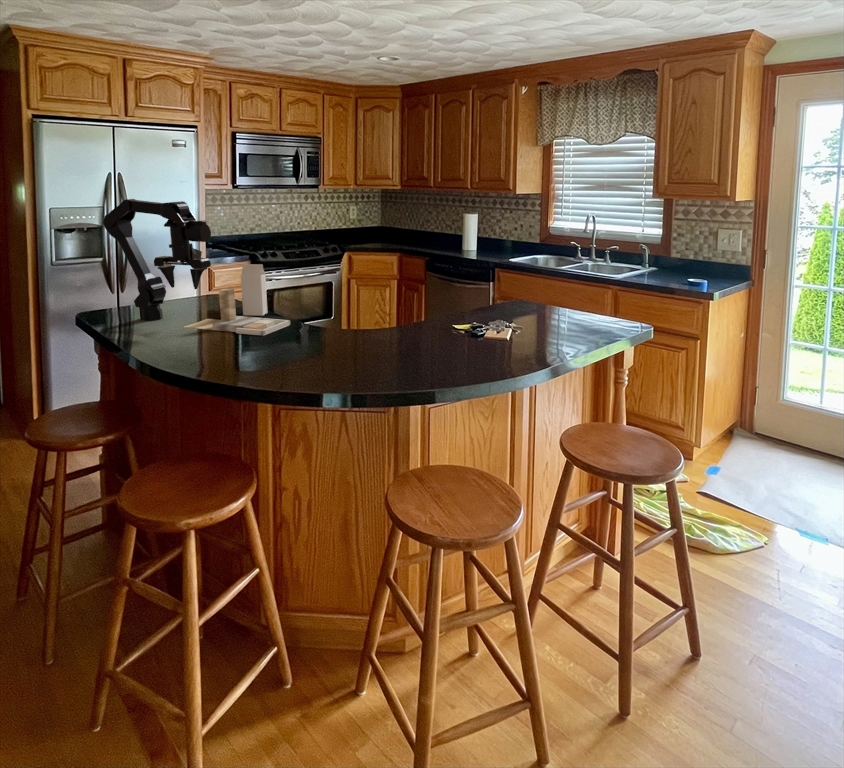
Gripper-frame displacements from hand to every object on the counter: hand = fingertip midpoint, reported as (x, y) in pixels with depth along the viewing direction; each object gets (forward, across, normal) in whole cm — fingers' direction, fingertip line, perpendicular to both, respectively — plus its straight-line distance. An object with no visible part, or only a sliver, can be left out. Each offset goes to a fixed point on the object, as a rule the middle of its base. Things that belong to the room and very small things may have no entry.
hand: (184, 288), depth 251 cm
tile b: (+12, -28, +3) cm, 31 cm away
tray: (+13, -30, 0) cm, 33 cm away
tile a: (+12, -28, -3) cm, 31 cm away
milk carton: (+13, -14, -21) cm, 28 cm away
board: (+13, -14, 0) cm, 19 cm away
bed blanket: (+12, -20, 0) cm, 23 cm away
